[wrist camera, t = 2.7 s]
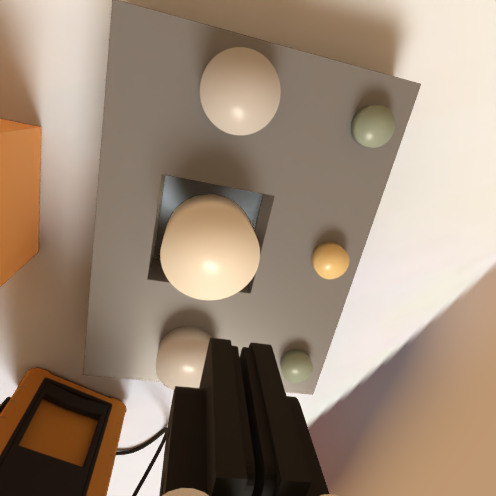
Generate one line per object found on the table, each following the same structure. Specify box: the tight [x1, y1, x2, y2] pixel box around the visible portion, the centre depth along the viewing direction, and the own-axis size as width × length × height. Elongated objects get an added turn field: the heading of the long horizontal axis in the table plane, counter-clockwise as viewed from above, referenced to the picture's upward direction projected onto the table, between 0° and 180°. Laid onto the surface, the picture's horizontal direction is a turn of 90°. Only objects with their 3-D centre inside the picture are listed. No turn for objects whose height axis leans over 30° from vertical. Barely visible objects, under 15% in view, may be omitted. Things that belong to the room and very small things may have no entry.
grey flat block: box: [83, 0, 421, 394], centre depth 21 cm, size 20×15×4 cm
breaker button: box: [160, 194, 260, 300], centre depth 19 cm, size 5×5×3 cm
